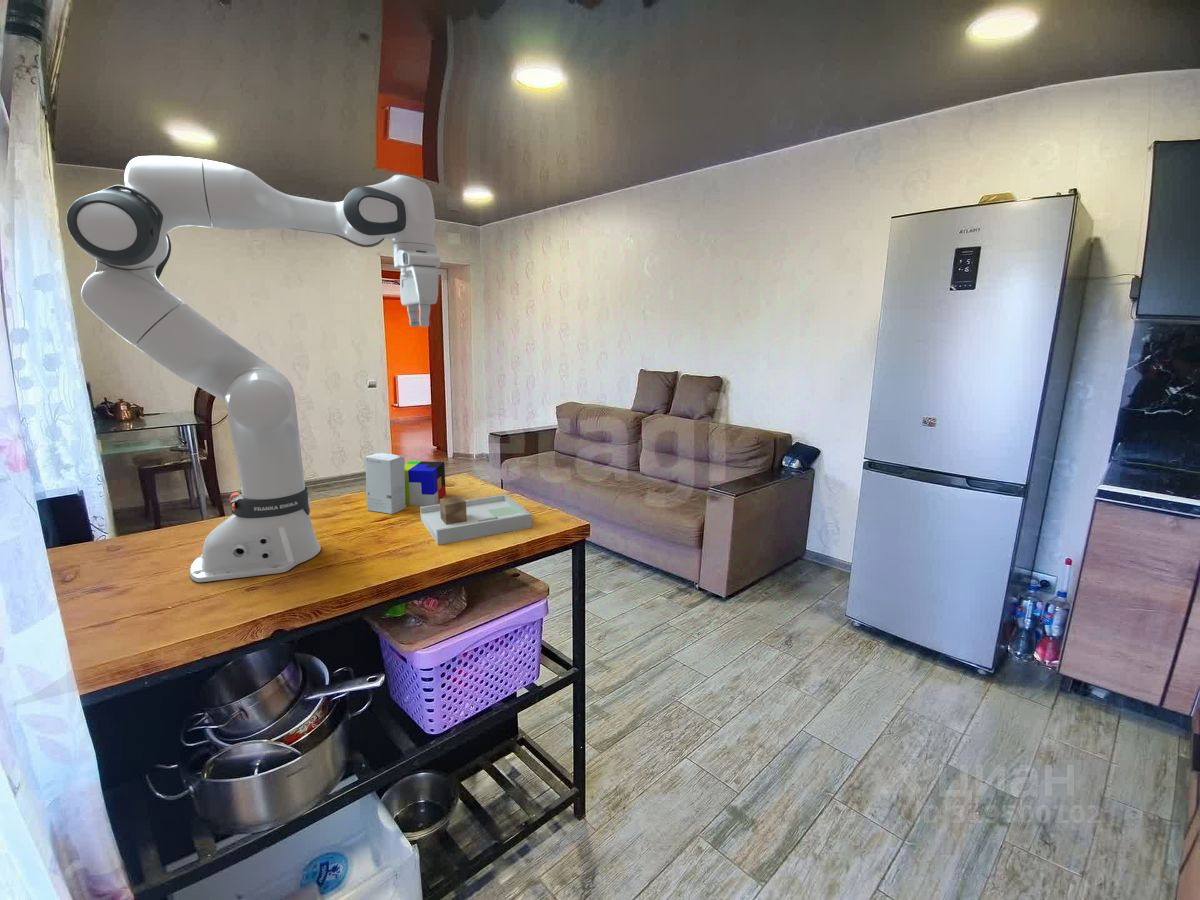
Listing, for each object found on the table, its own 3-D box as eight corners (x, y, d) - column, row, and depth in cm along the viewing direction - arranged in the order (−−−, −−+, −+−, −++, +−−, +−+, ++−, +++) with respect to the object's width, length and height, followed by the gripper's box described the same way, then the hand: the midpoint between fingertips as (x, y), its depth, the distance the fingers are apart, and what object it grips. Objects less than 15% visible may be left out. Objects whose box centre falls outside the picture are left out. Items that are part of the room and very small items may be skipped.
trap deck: (438, 544, 116) (437, 530, 115) (420, 520, 131) (420, 506, 130) (531, 527, 127) (531, 514, 127) (506, 506, 142) (505, 494, 141)
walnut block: (446, 524, 123) (445, 504, 121) (440, 518, 127) (439, 498, 126) (466, 521, 125) (466, 501, 124) (460, 514, 129) (460, 495, 128)
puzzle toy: (434, 506, 141) (432, 471, 139) (398, 505, 141) (395, 470, 139) (445, 494, 151) (444, 461, 149) (412, 494, 151) (409, 461, 149)
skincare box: (366, 511, 136) (362, 456, 133) (382, 504, 142) (378, 451, 138) (393, 515, 134) (389, 459, 130) (408, 507, 140) (404, 454, 136)
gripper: (391, 263, 118) (395, 326, 121) (410, 253, 101) (414, 326, 104) (419, 266, 121) (423, 326, 124) (442, 256, 104) (445, 327, 107)
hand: (419, 326), depth 114 cm, fingers open, 8 cm apart
